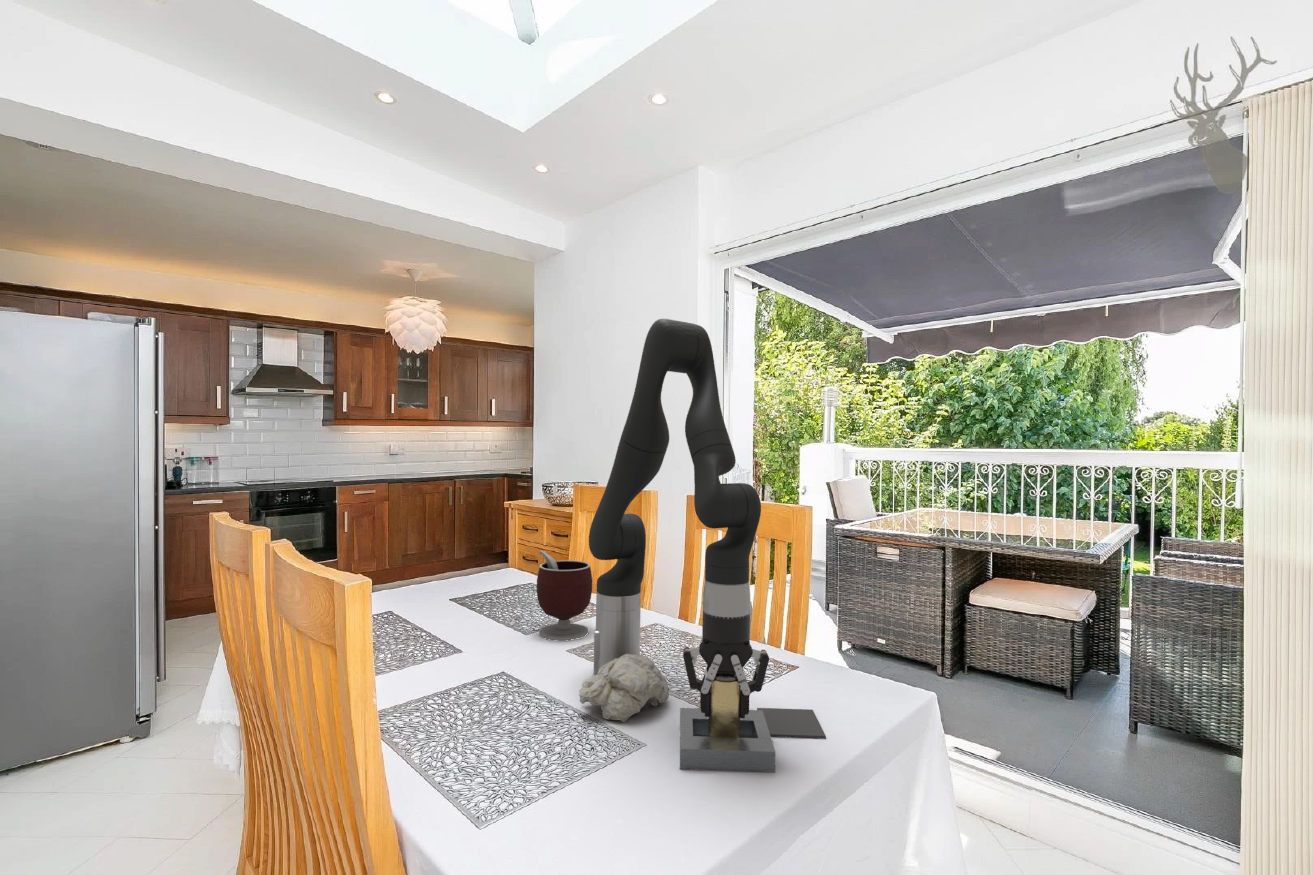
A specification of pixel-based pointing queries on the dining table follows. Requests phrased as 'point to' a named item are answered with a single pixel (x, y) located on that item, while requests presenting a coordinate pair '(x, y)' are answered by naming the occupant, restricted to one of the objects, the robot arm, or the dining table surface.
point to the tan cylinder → (724, 706)
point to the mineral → (625, 686)
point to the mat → (792, 723)
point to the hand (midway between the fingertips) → (724, 714)
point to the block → (725, 744)
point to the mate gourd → (563, 596)
